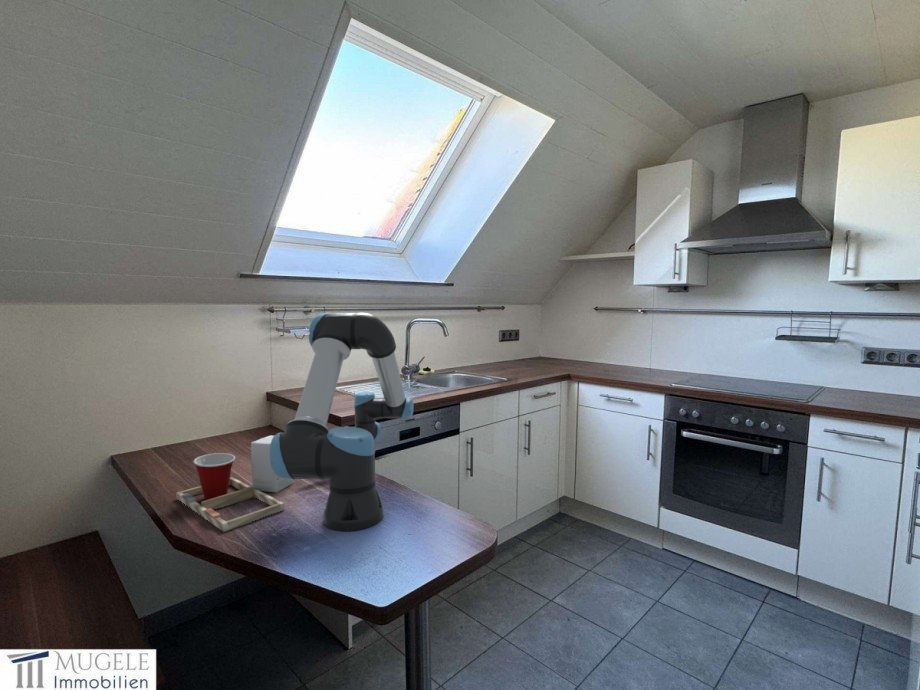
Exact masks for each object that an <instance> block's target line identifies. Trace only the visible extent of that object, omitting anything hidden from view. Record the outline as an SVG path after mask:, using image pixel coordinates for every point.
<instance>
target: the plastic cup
mask: <svg viewBox="0 0 920 690" xmlns="http://www.w3.org/2000/svg"><path fill="white" fill-rule="evenodd" d="M235 460H236V456H235V455H234V454H231V453H227V452H226V453H225V452H224V453H223V452H217V453H215V452H214V453H208V454H203V455H199V456H197V457H196V458H194V460H193V464H194V465H195V468H196V471H197V475H198V479H199V482H200V486H201V487H202V490H203V493H202V495H203V497H204V501H205V500H209V499H212V498H215V497H219V496H222V495H225V494H229V486H230V485H229V480H230V478H231V473H232V472H231V471H232V468H233V467H232V466H233V463H234V461H235ZM228 485H229V486H228Z"/></svg>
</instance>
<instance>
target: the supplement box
mask: <svg viewBox="0 0 920 690" xmlns="http://www.w3.org/2000/svg"><path fill="white" fill-rule="evenodd" d="M274 436H275V435H268V436H265V437H261V438H259V439H257V440H254V441H252V442H251V443H250V456H251V460H250V462H251V485H252V486H251V487H254V488H255V489H257V490H259V491H261V492H270V493H278V492H280V491H282V490H284V489H285V488H287V487H289V486H291V485H292V484H294V483H295V479H290V478H280V477H278V476H277V475H276V474H275V473H274V472H273V470H272V467H271V463H270V456H269V452H270V444H271V441H272V438H273V437H274Z"/></svg>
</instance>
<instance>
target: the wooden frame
mask: <svg viewBox="0 0 920 690" xmlns="http://www.w3.org/2000/svg"><path fill="white" fill-rule="evenodd" d="M229 486H232V487H234V488H236V489H238V490H236V491H232V492H228V493H227V494H225V495H222V496H219V497H215V498H212V499H209V500H205V499H204V500H203V501H202V500H201V502H200V503H198V502H197V501H196V500H197V499H196V498H195V497H194V496H197V495H200V494H201V495H202V494H203V490H202V487H201V485H200V486H196V487H191V488H188V489H185V490H180V491H177V492H176V500H177V501H178V500H179V501H178V502H180V501H181V502H182V504H183V503H184V504H185V505H184V504H183V505H184V506H186V505H187V506H188V507H187V506H186V507H187V508H189V507H190V508H191V509H192V511H193V510H194V511H195V512H194V511H193V512H194V513H196V512H197V513H198V514H197V513H196V514H197V515H199V516H200V515H201V516H200V517H202V518H203V517H204V518H203V519H205V520H206V521H207V520H208V522H209V523H210V524H211V525H213V526H214V527H216V528H218V529H219V530H220V531H222V532H227V531H230V530H233V529H235V528H238V527H241V526H244V525H247V524H250V523H253V522H255V520H256V521H258V520H261V519H264V518H266V517H265V516H267V517H269V516H272V515H275V514H277V512H278V513H281V512H282V511H285V503H284V502H282V501H281V500H278V499H276V498H275V497H273V496H271V495H270V494H267V493H266V492H265V493H264V491H259V490H257V489H255V488H254V487H252V486H251V485H249V484H246V483H245V482H243V481H241V480H239V479H237V478H234V477H233V476H232V477H231V476H230V480H229V485H228V487H229ZM252 498H255V499H256V498H257V500H258V499H259V500H258V501H260V500H261V501H260V502H262V501H263V503H264V502H265V503H264V504H266V503H267V505H268V504H269V505H268V506H267V507H264V508H262V509H258V510H255V511H251V512H250V513H246V514H244V515H240V516H237V517H235V518H232V519H229V520H225V519H223V518H221V514H220V513H219V512H217V511H216V510H217V508H219V509H221V508H220V507H222V508H224V506H225V507H227V506H232V505H234V504H237V503H241V502H244V501H246V500H249V499H252ZM181 502H180V503H181ZM270 505H271V506H270ZM190 508H189V509H190ZM191 509H190V510H191ZM214 509H216V510H214ZM280 511H281V512H280ZM274 513H275V514H274ZM271 514H272V515H271ZM268 515H269V516H268ZM263 517H264V518H263ZM260 518H261V519H260ZM252 521H253V522H252Z"/></svg>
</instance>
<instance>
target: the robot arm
mask: <svg viewBox="0 0 920 690" xmlns="http://www.w3.org/2000/svg"><path fill="white" fill-rule="evenodd" d="M308 332H309V334H308V341H309V345H310V347H311V348H312V350H313V353H314V356H313V359H312V362H311V364H310V365H311V366H310V369H309V372H308V375H307V377H306V382H305V385H304V387H303V391H302V394H301V397H300V401H299V402H298V403H299V404H298V407H297V409H296V413H295V416H294V419H291V420H290V421H288V422H287V424H286V426H285V429H284V432H282V431H281V432H278V433H275V435H273V436H274V437H273V438H272V441H271V444H270V452H269V456H270V463H271V467H272V470H273V472H274V473H275V474H276V475H277V476H278V477H280V478H290V479H294V480H329V492H328V493H329V494H328V497H327V501H326V505H325V509H324V510H323V524H324V526H326V528H328V529H331V530H334V531H340V532H350V531H353V532H354V531H359V530H364V529H367V528H369V527H372V526H374V525H376V524H378V523H379V522H380V521H381V520H382V519H383V516H384V507H383V503H382V501H381V498H380V495H379V493H378V491H377V486H376V457H375V456H376V455H375V454H376V447H375V442H377V441H378V440H379V439H380V438H381V437H382V434H383V429H382V428H381V424H380V423H379V422H377V421H376V419H410V418H412V417H413V414H414V400H413V399H412V398H410V397H406V396H405V395H406V393H405V390H404V386H403V382H402V379H401V373H400V370H399V366H398V361H397V358H396V353H395V352H396V349H397V345H396V341H395V340H396V339H395V337H394V335H393V333H392V332H391V330H390V329H389V327H388V325H386V323H384V322H383V321H382V320H381V319H380V318H378V317H377V316H375V315H374V314H371V313H368V312H361V311H360V312H325V313H319V314H317V315H316V316H315V317H314V318H313V319H312V320H311V322H310V324H309V328H308ZM352 350H365V351H366V353H367V355H368V356H369V357H370V358H372V363H373V365H374V366H373V367H374V369H375V372H376V374H377V375H376V376H377V379H378V382H379V387H380V389H381V392H382V395H383V397H376V396H375V393H374V392H371V391H361V392H358V393H356V394H355V395H354V405H353V406H354V424H355V425H354V426H337V427H332V428H330V429H329V428H328V426H327V424H328V420H329V416H330V412H331V410H332V404H333V401H334V396H335V393H336V390H337V385H338V381H339V378H340V374H341V370H342V366H343V362H344V361H345V360H347V359H349V357H350V355H351V351H352ZM377 522H378V523H377Z"/></svg>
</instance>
